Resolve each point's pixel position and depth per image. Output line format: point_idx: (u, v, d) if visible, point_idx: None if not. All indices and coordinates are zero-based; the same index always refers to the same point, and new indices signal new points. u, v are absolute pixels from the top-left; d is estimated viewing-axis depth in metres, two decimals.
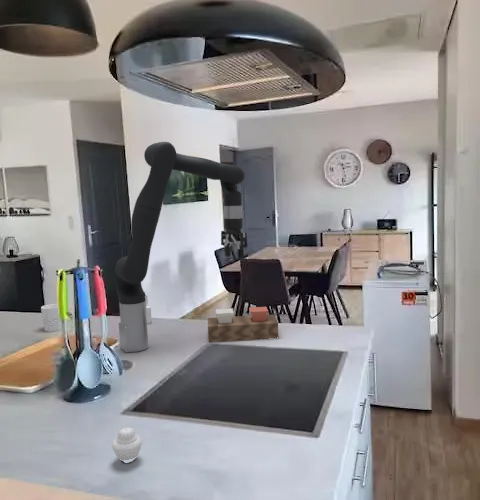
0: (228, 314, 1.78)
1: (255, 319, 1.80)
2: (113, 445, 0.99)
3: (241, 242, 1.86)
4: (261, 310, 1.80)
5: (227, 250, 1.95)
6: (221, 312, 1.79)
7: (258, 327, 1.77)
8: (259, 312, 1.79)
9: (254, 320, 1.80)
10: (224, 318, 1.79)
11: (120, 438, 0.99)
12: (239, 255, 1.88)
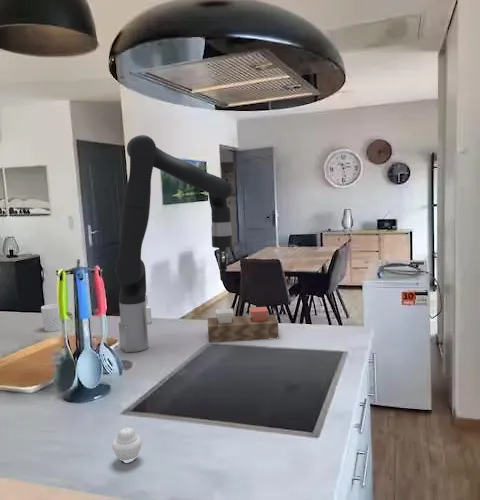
0: (228, 314, 1.78)
1: (255, 319, 1.80)
2: (113, 445, 0.99)
3: None
4: (261, 310, 1.80)
5: None
6: (221, 312, 1.79)
7: (258, 327, 1.77)
8: (259, 312, 1.79)
9: (254, 320, 1.80)
10: (224, 318, 1.79)
11: (120, 438, 0.99)
12: None
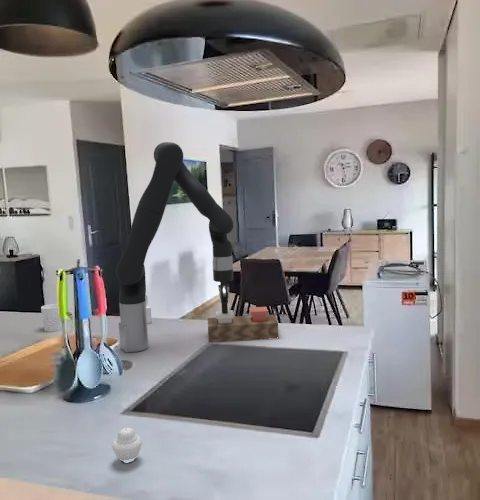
0: (228, 316, 1.78)
1: (255, 319, 1.80)
2: (113, 445, 0.99)
3: None
4: (261, 310, 1.80)
5: None
6: (221, 314, 1.79)
7: (258, 327, 1.77)
8: (259, 312, 1.79)
9: (254, 320, 1.80)
10: (224, 320, 1.79)
11: (120, 438, 0.99)
12: None
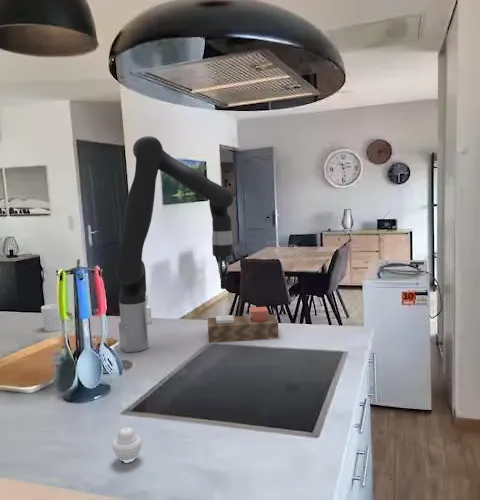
0: (228, 321, 1.78)
1: (255, 319, 1.80)
2: (113, 445, 0.99)
3: None
4: (261, 310, 1.80)
5: None
6: (221, 319, 1.79)
7: (258, 327, 1.77)
8: (259, 312, 1.79)
9: (254, 320, 1.80)
10: None
11: (120, 438, 0.99)
12: None
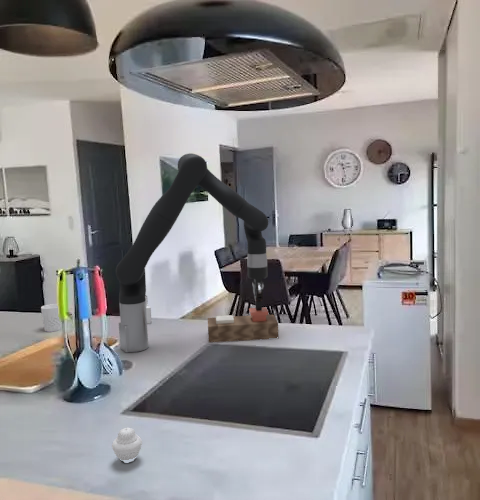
0: (228, 321, 1.78)
1: (255, 319, 1.80)
2: (113, 445, 0.99)
3: None
4: (261, 311, 1.80)
5: None
6: (221, 319, 1.79)
7: (258, 327, 1.77)
8: (259, 313, 1.79)
9: (254, 321, 1.80)
10: None
11: (120, 438, 0.99)
12: None
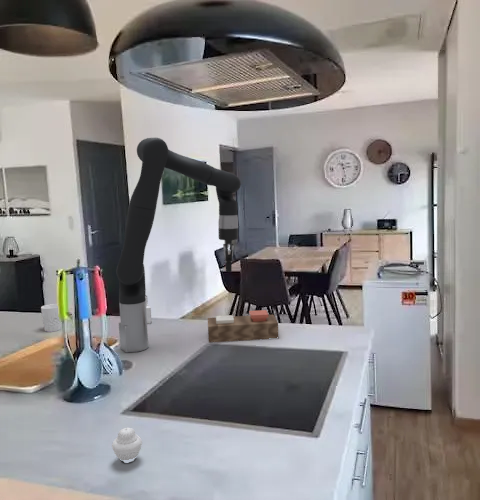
0: (228, 321, 1.78)
1: None
2: (113, 445, 0.99)
3: None
4: (261, 313, 1.80)
5: None
6: (221, 319, 1.79)
7: (258, 327, 1.77)
8: (259, 315, 1.79)
9: None
10: None
11: (120, 438, 0.99)
12: None
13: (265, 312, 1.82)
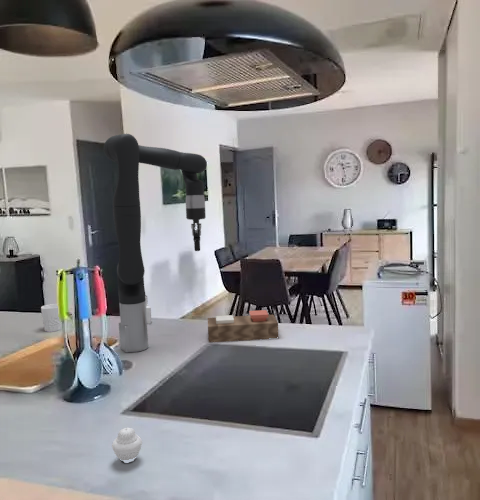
0: (228, 321, 1.78)
1: None
2: (113, 445, 0.99)
3: None
4: (261, 313, 1.80)
5: None
6: (221, 319, 1.79)
7: (258, 327, 1.77)
8: (259, 315, 1.79)
9: None
10: None
11: (120, 438, 0.99)
12: None
13: (265, 312, 1.82)
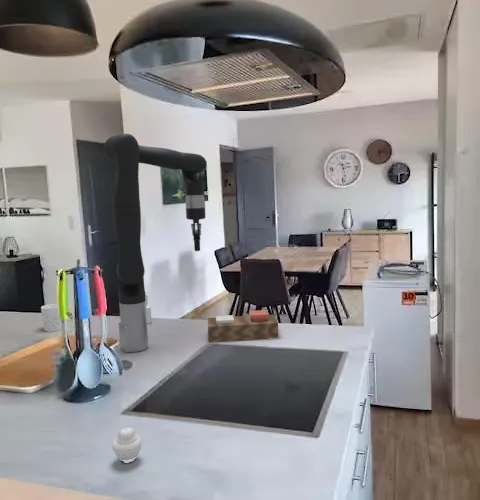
0: (228, 321, 1.78)
1: None
2: (113, 445, 0.99)
3: None
4: (261, 313, 1.80)
5: None
6: (221, 319, 1.79)
7: (258, 327, 1.77)
8: (259, 315, 1.79)
9: None
10: None
11: (120, 438, 0.99)
12: None
13: (265, 312, 1.82)
